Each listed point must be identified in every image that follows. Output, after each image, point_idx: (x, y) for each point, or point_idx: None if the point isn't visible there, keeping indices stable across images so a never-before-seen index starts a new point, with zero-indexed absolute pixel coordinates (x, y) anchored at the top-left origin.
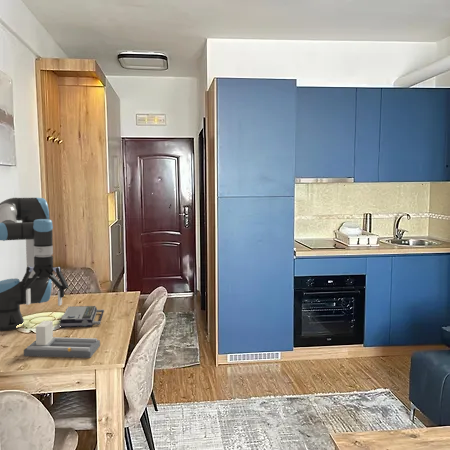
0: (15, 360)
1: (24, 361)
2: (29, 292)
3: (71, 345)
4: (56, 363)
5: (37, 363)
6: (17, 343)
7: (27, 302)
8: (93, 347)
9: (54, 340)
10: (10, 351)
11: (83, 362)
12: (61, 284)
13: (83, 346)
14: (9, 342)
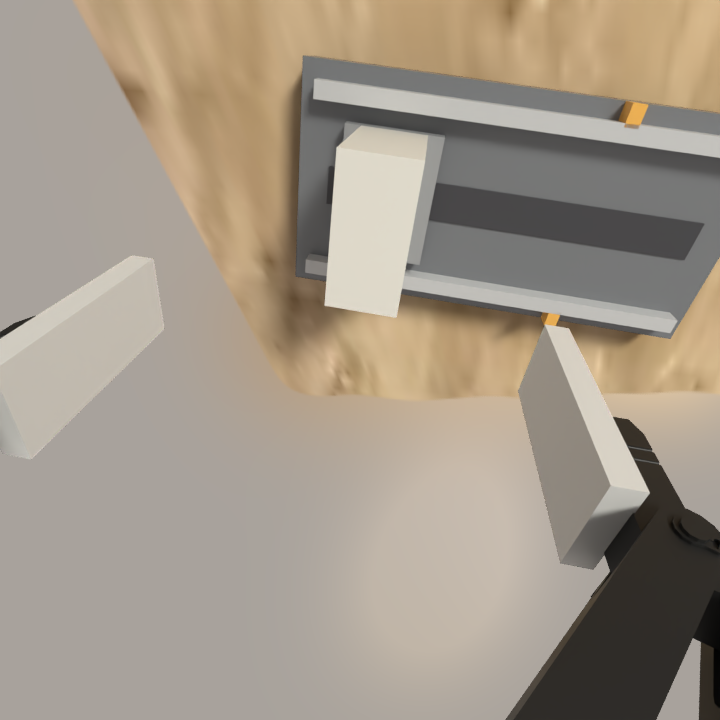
0: (287, 312)
1: (332, 327)
2: (54, 369)
3: (562, 228)
4: (482, 364)
5: (396, 354)
6: (171, 32)
7: (143, 342)
8: (705, 273)
9: (442, 149)
10: (205, 189)
11: (611, 369)
12: (692, 622)
13: (641, 253)
14: (106, 4)
